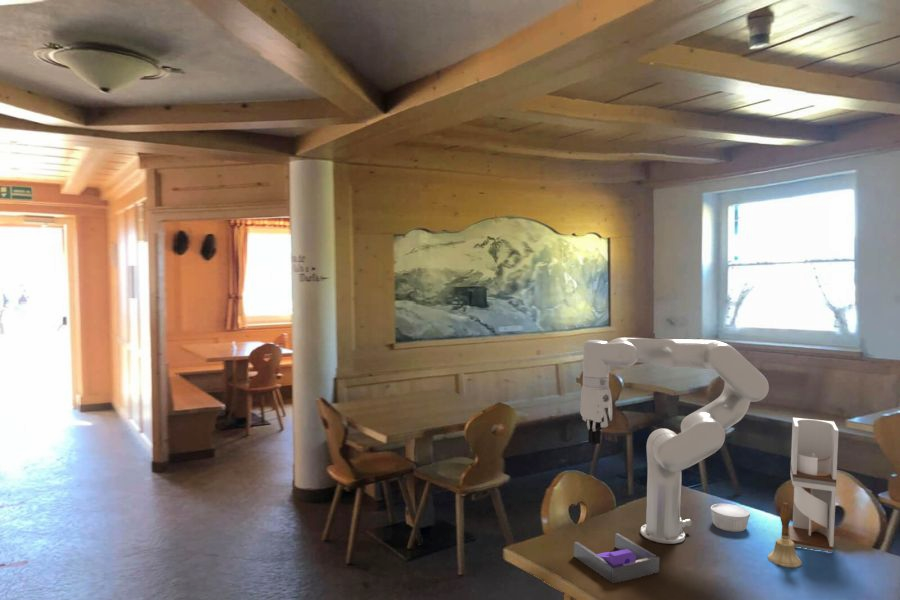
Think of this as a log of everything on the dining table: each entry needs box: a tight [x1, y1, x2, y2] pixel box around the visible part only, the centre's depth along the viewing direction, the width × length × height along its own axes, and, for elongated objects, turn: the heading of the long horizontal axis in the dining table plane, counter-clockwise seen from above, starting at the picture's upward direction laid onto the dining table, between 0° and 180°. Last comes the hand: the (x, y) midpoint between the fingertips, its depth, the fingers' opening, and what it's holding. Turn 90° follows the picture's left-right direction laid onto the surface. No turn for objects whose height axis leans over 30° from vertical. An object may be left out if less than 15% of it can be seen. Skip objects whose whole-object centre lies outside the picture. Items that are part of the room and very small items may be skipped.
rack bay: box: [573, 532, 660, 584], centre depth 172 cm, size 15×16×4 cm
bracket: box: [596, 549, 636, 566], centre depth 170 cm, size 12×7×7 cm, turn 23°
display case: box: [788, 417, 840, 553], centre depth 186 cm, size 11×11×35 cm
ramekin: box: [710, 503, 751, 533], centre depth 199 cm, size 11×11×5 cm
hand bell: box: [767, 501, 803, 568], centre depth 175 cm, size 8×8×16 cm
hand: (594, 443), depth 191 cm, fingers closed
